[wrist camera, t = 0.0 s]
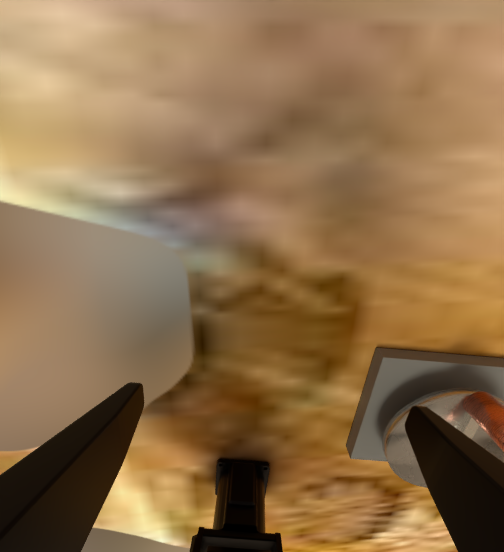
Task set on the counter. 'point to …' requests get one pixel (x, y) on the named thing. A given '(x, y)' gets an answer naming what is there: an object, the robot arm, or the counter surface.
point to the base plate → (413, 389)
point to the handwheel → (455, 410)
